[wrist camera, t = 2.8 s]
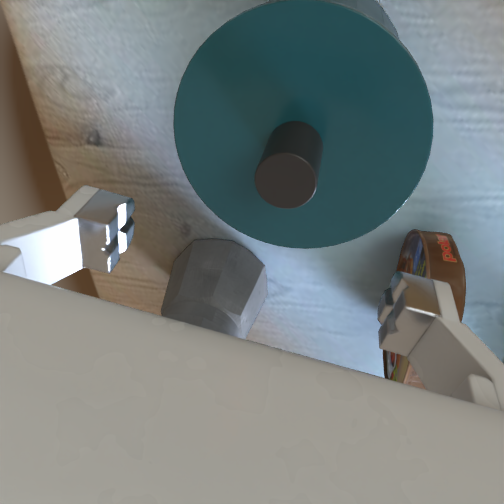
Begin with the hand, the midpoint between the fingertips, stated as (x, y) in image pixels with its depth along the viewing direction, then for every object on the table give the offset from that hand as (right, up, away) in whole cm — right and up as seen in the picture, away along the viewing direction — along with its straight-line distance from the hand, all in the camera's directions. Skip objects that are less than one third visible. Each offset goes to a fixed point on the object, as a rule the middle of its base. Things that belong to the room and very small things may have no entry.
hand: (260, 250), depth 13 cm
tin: (+13, -3, +23) cm, 27 cm away
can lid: (+2, +5, +6) cm, 8 cm away
